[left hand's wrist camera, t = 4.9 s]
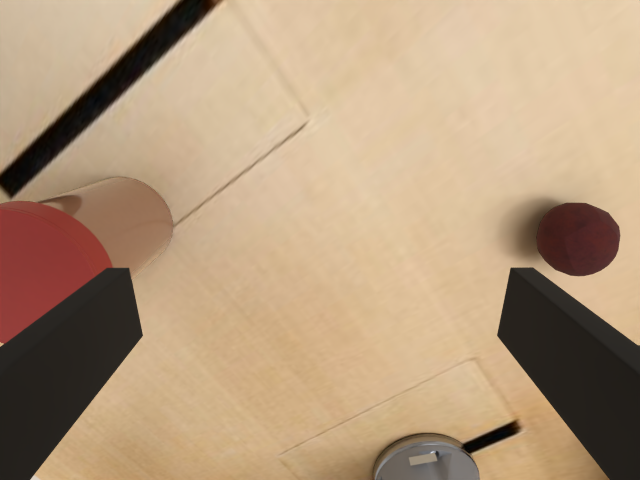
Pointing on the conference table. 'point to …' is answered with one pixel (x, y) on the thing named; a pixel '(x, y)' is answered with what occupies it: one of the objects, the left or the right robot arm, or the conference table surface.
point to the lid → (42, 262)
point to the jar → (121, 219)
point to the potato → (578, 239)
